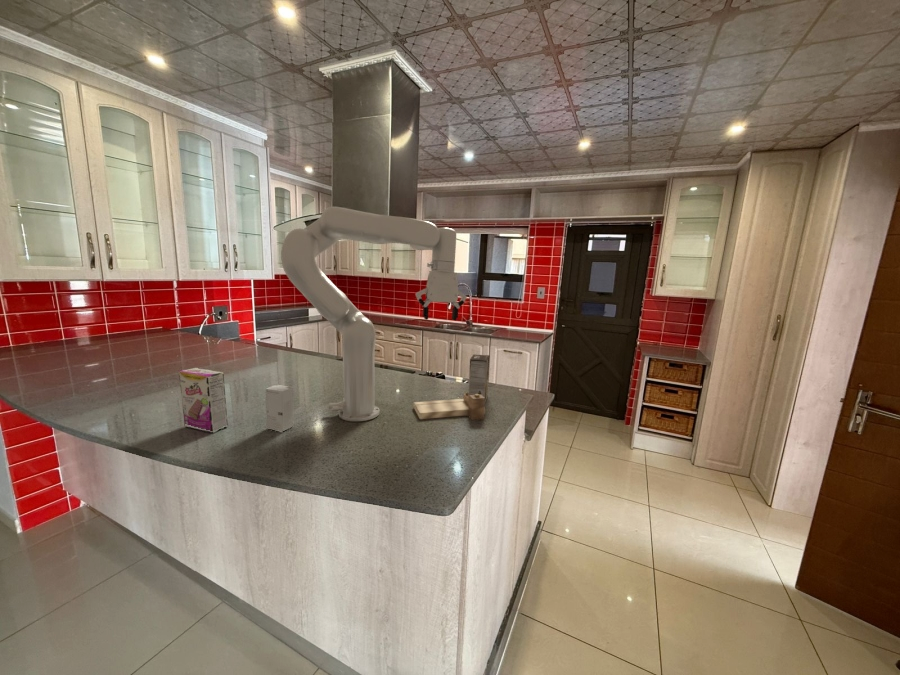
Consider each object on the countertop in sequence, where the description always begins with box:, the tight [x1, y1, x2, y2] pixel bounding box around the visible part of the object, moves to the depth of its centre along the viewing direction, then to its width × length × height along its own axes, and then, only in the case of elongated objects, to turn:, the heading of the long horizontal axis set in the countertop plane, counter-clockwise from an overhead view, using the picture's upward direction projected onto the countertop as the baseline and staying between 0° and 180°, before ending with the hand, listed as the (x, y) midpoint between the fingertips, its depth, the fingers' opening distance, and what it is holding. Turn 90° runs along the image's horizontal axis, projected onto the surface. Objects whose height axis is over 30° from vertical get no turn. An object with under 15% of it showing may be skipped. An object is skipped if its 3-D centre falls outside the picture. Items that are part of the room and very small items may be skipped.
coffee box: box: [468, 354, 490, 403], centre depth 127 cm, size 9×6×16 cm
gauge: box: [462, 391, 486, 421], centre depth 114 cm, size 4×12×8 cm, turn 16°
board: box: [413, 398, 486, 420], centre depth 116 cm, size 22×10×2 cm, turn 107°
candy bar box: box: [178, 367, 229, 431], centre depth 96 cm, size 11×5×16 cm, turn 71°
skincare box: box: [265, 384, 294, 431], centre depth 97 cm, size 6×4×12 cm
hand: (440, 319), depth 115 cm, fingers open, 9 cm apart
